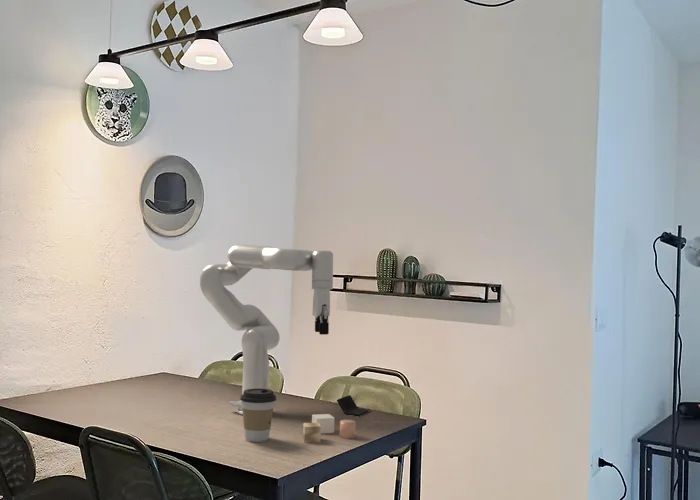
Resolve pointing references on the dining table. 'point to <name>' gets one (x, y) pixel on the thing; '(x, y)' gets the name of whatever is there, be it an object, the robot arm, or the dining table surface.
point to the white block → (324, 422)
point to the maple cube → (311, 432)
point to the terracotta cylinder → (347, 429)
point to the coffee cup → (257, 413)
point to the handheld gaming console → (350, 406)
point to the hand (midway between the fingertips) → (321, 333)
